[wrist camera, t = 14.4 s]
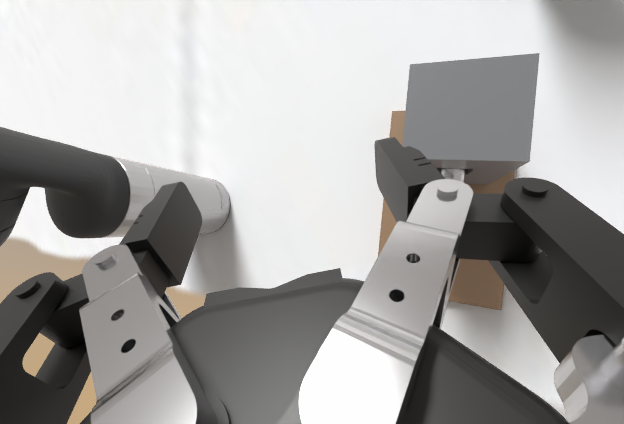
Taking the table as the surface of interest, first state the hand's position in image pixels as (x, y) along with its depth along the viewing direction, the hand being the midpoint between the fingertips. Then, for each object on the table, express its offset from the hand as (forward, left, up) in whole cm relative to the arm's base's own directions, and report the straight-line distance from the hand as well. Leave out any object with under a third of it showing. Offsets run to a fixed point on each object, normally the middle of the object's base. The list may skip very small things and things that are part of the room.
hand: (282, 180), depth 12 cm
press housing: (+8, -2, -28) cm, 29 cm away
